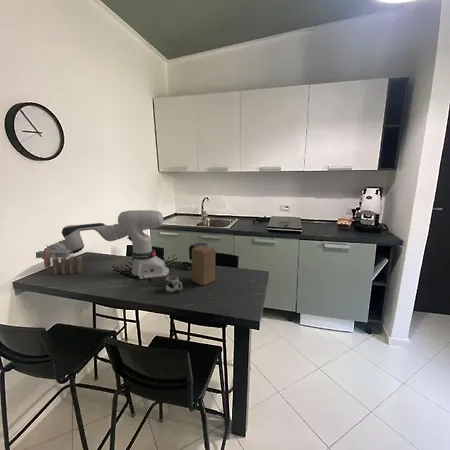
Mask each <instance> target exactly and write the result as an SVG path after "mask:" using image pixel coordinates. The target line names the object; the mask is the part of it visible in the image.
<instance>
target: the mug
mask: <svg viewBox="0 0 450 450" xmlns="http://www.w3.org/2000/svg"><path fill="white" fill-rule="evenodd" d="M177 290H178V291H182V290H183V283H182V282H181V281H180V280H179V276H177V275H167V276H165V291H166V292H168V291H169V292H168V293H175V292H174V291H176V292H178V291H177Z"/></svg>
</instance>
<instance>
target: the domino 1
mask: <svg viewBox="0 0 450 450" xmlns="http://www.w3.org/2000/svg"><path fill="white" fill-rule="evenodd" d="M48 255H50V254H49V250H45V251H44V252H43V258H44V259H43V265H44V268H45V269H48V268H50V267H51V266H52V263H51V259H48V258H47V256H48Z"/></svg>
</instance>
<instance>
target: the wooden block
mask: <svg viewBox="0 0 450 450" xmlns="http://www.w3.org/2000/svg"><path fill="white" fill-rule="evenodd" d="M191 264H192V269H191V281H192V282H194V283H196V284H197V285H200V286H202V285H204V286H206V285H209V284H211V283H213V281H214V282H215V280H216V249H215V247H214V248H213V247H210V246H208V245H207V246H200V247H196V248H193V249H192V260H191Z"/></svg>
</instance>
